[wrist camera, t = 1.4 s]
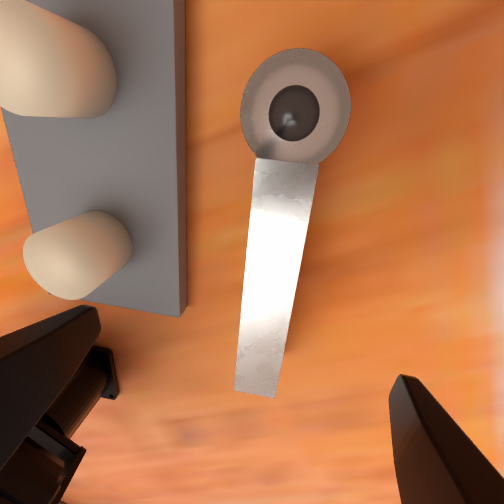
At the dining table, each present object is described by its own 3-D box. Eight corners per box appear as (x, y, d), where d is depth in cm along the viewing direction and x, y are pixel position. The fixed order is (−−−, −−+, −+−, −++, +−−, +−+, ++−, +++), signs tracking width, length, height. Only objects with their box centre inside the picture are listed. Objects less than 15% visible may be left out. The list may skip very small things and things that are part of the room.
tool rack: (186, 306, 23) (155, 356, 18) (63, 284, 24) (0, 326, 19) (184, -42, 14) (119, -137, 9) (-13, -51, 15) (-170, -140, 10)
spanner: (289, 358, 23) (287, 403, 19) (233, 347, 24) (220, 390, 20) (348, 71, 15) (365, 51, 11) (257, 63, 15) (243, 42, 11)
